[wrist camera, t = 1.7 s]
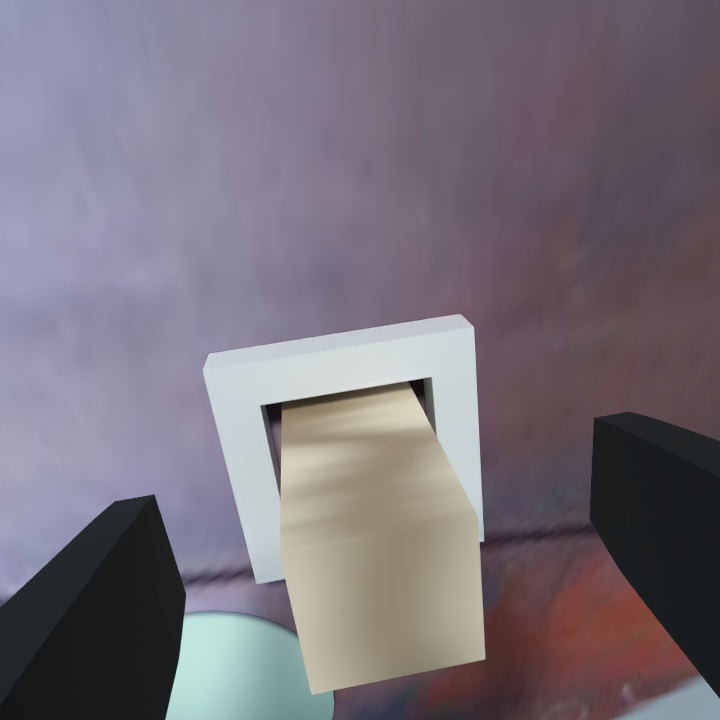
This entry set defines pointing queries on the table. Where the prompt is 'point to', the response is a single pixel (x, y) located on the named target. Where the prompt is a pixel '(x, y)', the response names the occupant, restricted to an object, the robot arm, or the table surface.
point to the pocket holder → (332, 375)
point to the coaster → (242, 672)
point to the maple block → (376, 540)
